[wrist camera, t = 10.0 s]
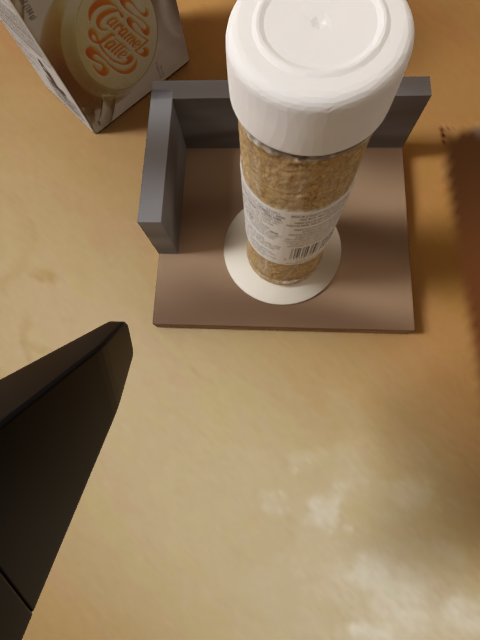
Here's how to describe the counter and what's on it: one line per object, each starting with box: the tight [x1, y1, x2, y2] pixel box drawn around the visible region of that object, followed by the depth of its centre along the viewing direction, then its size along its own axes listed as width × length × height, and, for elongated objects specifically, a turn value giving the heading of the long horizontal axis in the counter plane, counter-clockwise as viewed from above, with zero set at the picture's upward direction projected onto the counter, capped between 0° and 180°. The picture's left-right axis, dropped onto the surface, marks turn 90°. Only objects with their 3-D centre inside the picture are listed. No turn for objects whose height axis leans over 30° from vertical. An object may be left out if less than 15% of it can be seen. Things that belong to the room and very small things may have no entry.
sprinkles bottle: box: [226, 0, 415, 285], centre depth 15 cm, size 5×5×13 cm
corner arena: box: [138, 76, 431, 334], centre depth 21 cm, size 13×15×5 cm
